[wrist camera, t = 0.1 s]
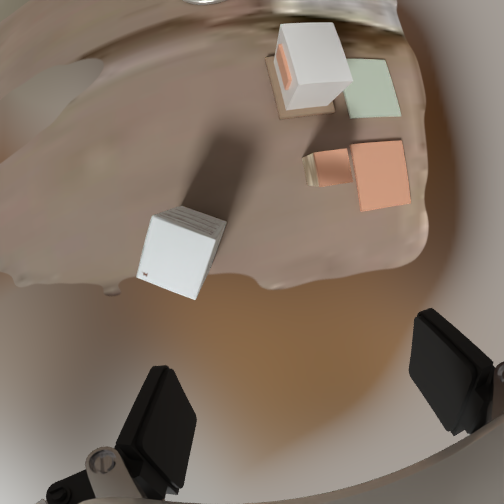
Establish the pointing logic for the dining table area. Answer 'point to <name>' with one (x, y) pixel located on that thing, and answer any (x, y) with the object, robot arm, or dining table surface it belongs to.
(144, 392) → the robot arm
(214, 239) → the supplement box
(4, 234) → the dining table surface
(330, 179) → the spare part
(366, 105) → the sage pad
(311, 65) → the mounted unit
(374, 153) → the terracotta pad
